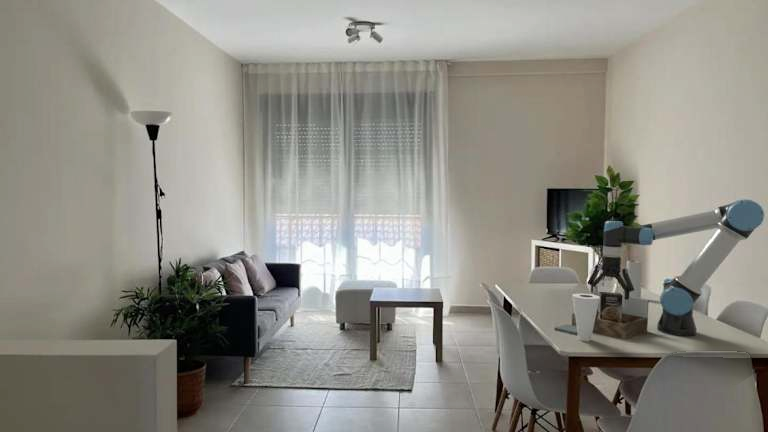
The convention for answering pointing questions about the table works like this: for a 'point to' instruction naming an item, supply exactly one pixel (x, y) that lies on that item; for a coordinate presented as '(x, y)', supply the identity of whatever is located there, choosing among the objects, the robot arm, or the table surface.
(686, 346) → the table surface
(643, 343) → the table surface
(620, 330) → the wooden tray
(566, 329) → the slate mat
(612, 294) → the coffee box
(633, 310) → the lid
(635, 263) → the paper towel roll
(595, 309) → the cup
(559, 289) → the table surface
